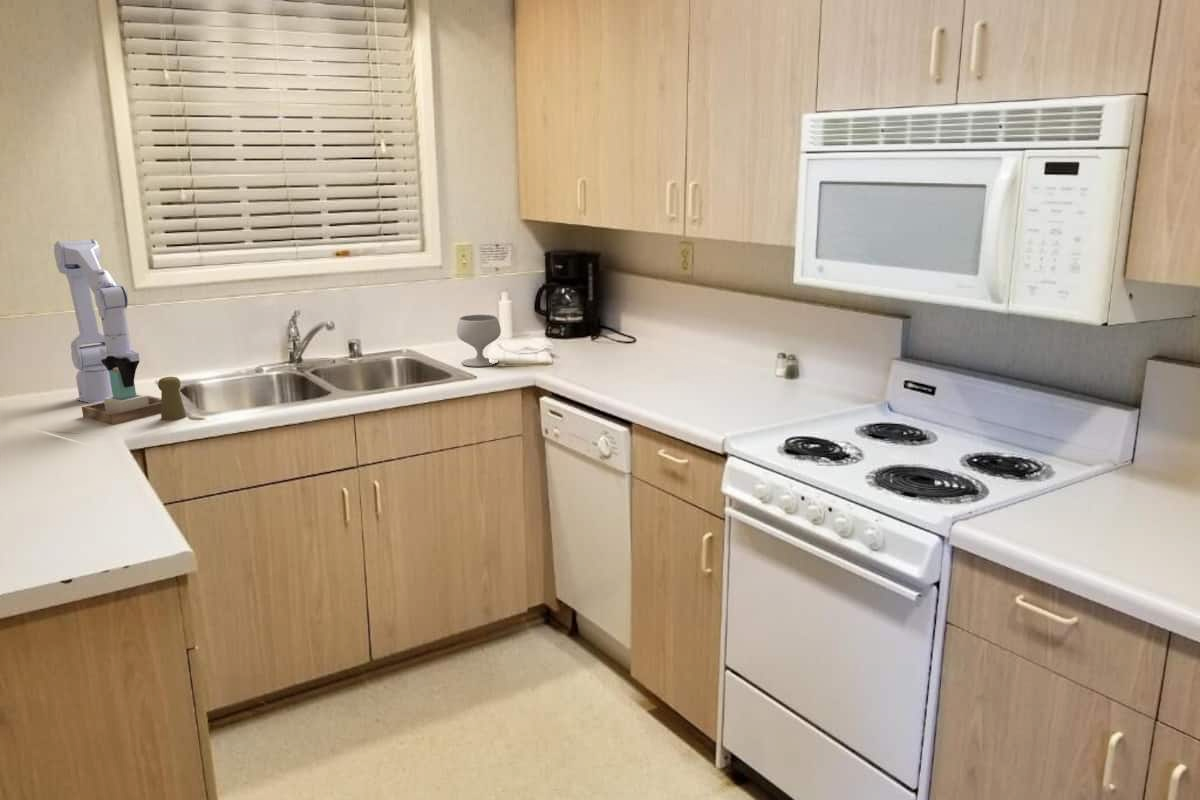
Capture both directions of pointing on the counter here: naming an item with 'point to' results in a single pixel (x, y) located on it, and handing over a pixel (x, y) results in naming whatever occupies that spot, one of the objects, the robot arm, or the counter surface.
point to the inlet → (125, 403)
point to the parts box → (122, 412)
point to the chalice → (478, 335)
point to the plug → (120, 385)
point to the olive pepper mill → (171, 399)
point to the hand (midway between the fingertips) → (123, 385)
